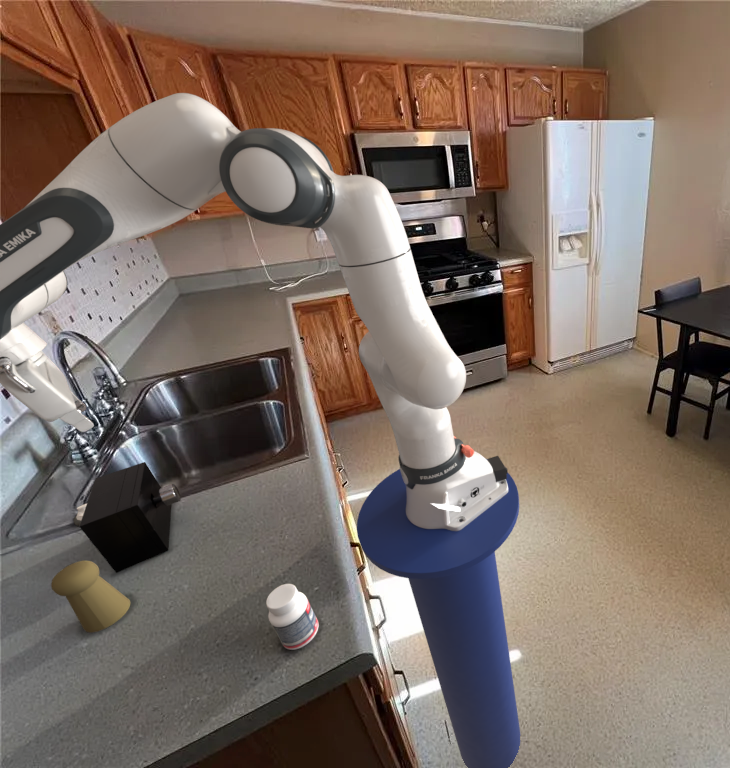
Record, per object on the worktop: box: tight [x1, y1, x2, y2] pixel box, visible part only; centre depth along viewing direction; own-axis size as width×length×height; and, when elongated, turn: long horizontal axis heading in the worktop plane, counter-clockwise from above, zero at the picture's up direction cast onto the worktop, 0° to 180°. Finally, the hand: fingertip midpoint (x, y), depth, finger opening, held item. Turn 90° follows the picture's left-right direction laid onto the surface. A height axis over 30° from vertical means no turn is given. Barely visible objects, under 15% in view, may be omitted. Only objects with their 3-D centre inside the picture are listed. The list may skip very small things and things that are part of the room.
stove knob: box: [72, 503, 87, 527], centre depth 90 cm, size 7×7×3 cm
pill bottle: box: [265, 583, 320, 651], centre depth 61 cm, size 5×5×9 cm
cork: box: [50, 560, 131, 634], centre depth 66 cm, size 6×6×11 cm
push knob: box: [150, 483, 182, 506], centre depth 83 cm, size 5×4×4 cm
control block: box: [78, 461, 173, 574], centre depth 81 cm, size 8×16×12 cm, turn 35°
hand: (85, 419), depth 68 cm, fingers open, 8 cm apart
